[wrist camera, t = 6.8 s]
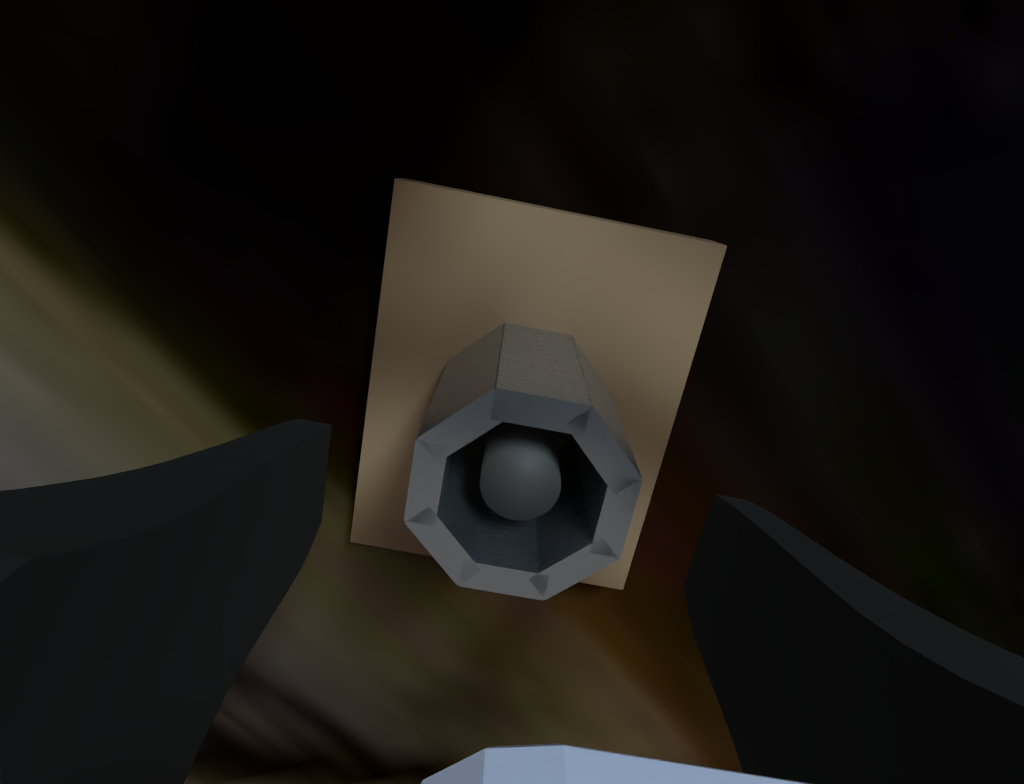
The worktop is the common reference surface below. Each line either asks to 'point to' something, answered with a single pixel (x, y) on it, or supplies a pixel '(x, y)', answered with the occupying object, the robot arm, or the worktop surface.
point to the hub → (582, 460)
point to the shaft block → (531, 303)
